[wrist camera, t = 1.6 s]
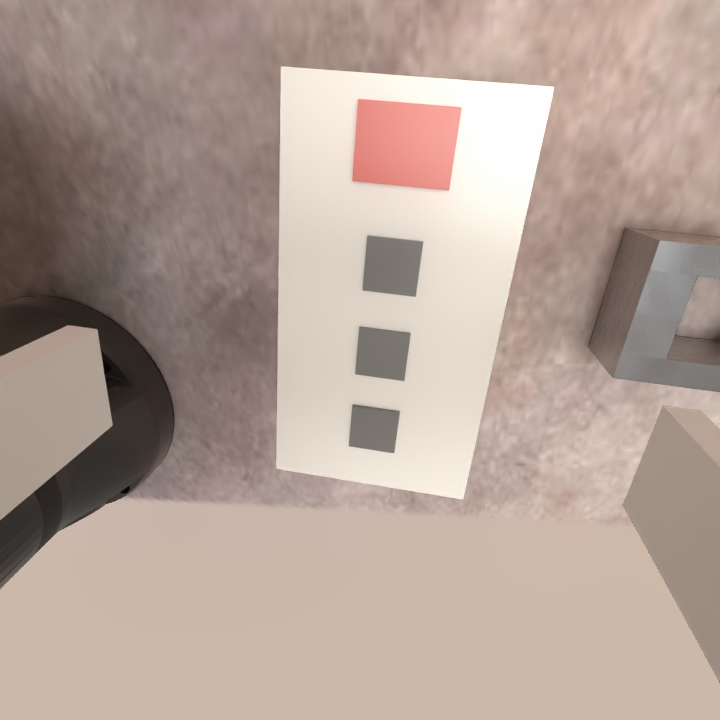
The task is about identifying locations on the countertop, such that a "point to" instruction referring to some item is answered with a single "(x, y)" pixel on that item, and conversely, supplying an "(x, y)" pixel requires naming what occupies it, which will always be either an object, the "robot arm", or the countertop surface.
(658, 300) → the rail
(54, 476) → the robot arm
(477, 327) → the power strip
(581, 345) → the countertop surface
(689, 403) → the countertop surface
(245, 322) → the countertop surface
